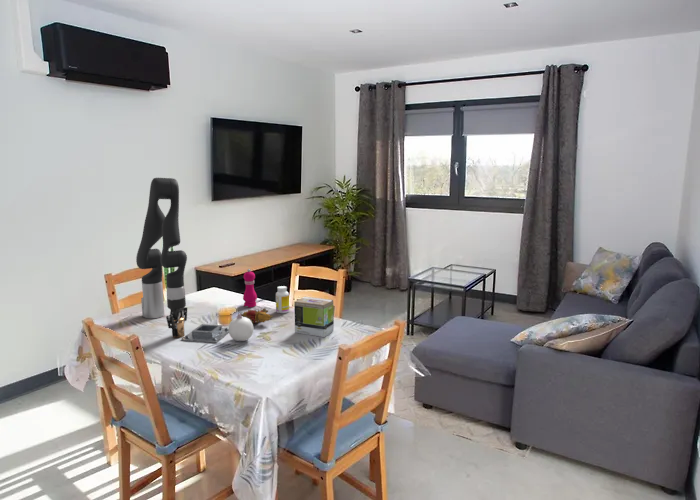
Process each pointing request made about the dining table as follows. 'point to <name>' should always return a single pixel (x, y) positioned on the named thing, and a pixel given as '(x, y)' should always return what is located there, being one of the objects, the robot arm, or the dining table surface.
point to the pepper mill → (249, 289)
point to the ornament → (240, 328)
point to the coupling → (207, 334)
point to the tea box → (314, 316)
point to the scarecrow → (257, 315)
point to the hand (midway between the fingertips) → (178, 334)
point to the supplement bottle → (282, 300)
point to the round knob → (180, 328)
